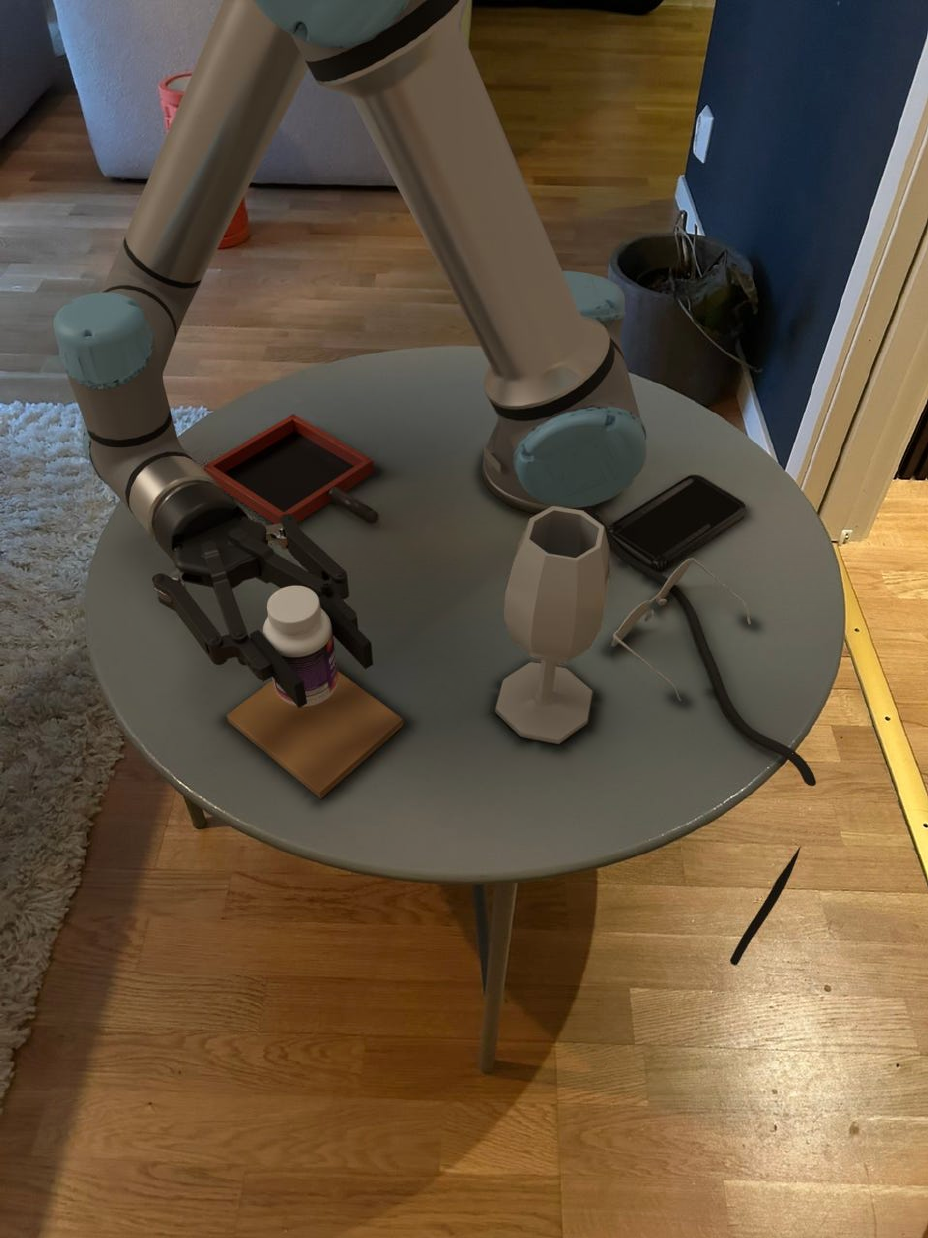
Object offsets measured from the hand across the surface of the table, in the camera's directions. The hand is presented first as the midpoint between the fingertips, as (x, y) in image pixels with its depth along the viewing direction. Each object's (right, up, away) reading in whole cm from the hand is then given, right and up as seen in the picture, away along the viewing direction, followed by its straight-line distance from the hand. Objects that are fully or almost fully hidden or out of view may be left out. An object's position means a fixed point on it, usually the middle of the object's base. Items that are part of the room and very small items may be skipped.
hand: (335, 674), depth 69 cm
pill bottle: (-3, -1, +7) cm, 8 cm away
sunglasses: (+31, +2, +19) cm, 36 cm away
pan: (-7, +19, +34) cm, 39 cm away
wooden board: (-3, -5, +11) cm, 13 cm away
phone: (+33, +14, +30) cm, 47 cm away
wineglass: (+17, -4, +13) cm, 22 cm away
